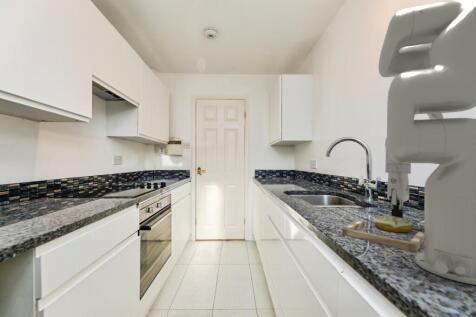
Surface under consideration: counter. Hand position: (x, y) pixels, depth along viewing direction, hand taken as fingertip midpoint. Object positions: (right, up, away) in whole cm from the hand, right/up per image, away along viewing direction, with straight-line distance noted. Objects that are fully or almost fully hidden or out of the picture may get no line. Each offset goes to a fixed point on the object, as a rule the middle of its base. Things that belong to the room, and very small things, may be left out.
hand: (397, 219), depth 81 cm
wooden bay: (-13, -1, -13) cm, 18 cm away
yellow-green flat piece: (-5, -2, -5) cm, 7 cm away
